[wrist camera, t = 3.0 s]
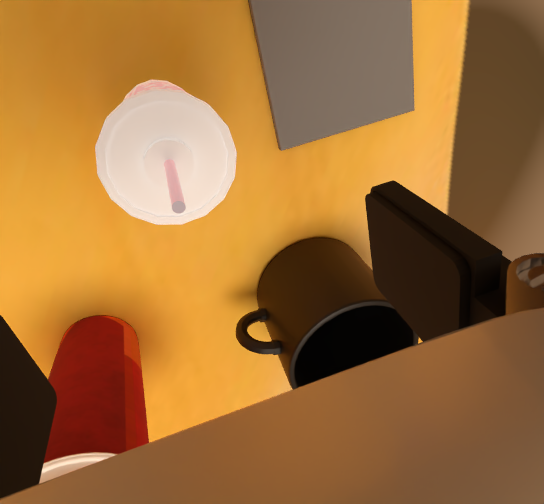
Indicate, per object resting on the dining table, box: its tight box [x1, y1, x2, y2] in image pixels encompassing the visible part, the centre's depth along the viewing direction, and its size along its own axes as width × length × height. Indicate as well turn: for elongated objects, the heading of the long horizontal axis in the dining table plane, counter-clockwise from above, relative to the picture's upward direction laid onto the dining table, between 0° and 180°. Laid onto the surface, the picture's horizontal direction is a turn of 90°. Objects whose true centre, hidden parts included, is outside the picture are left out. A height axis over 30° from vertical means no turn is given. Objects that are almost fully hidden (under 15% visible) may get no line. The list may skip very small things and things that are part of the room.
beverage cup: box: [95, 80, 237, 225], centre depth 21 cm, size 6×6×14 cm
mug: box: [236, 238, 419, 389], centre depth 32 cm, size 9×12×9 cm
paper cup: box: [39, 316, 149, 484], centre depth 27 cm, size 8×8×14 cm
